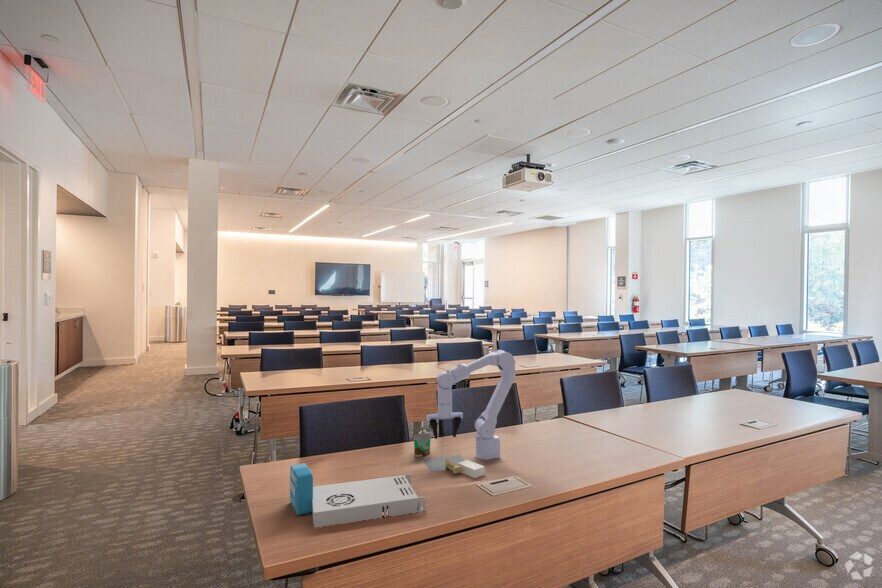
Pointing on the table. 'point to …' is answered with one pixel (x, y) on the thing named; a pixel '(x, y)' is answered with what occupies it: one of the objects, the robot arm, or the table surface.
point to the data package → (301, 488)
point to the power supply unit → (364, 500)
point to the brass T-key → (452, 466)
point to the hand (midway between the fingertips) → (445, 437)
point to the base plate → (441, 462)
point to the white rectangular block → (472, 468)
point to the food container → (422, 442)
